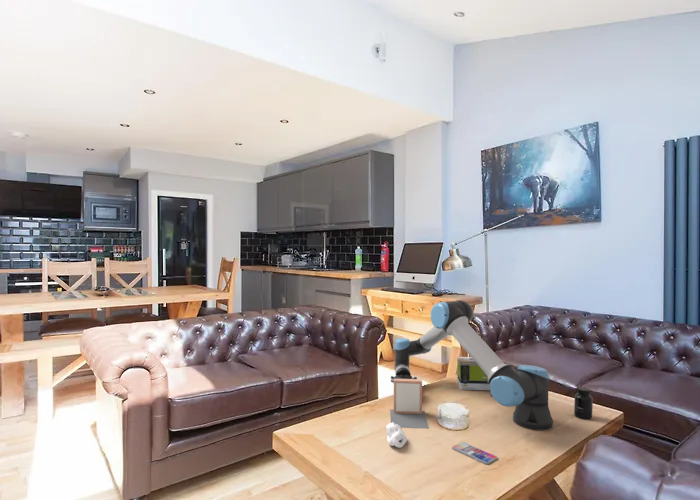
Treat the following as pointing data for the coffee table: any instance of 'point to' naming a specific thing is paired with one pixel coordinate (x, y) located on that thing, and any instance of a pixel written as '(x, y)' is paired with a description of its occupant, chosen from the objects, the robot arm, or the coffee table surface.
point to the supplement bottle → (583, 404)
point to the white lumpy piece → (395, 435)
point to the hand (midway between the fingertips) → (405, 390)
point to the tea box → (471, 375)
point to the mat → (409, 420)
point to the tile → (408, 396)
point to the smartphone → (475, 453)
